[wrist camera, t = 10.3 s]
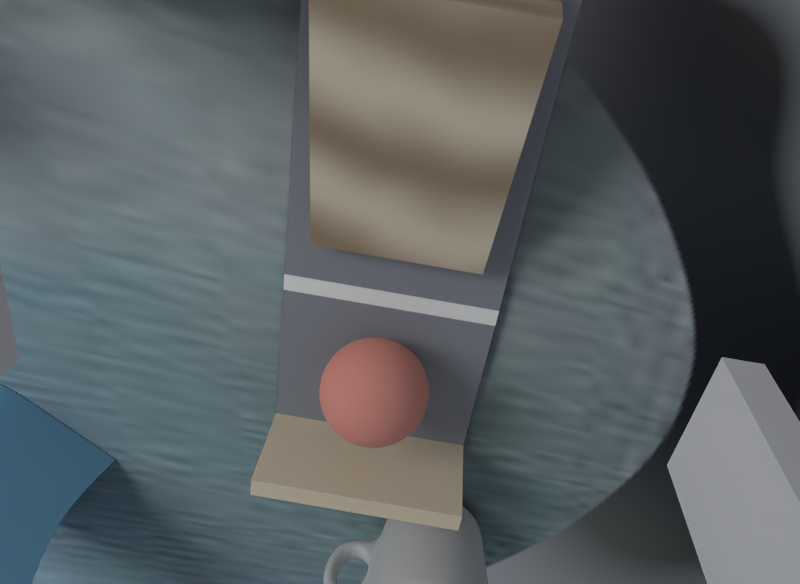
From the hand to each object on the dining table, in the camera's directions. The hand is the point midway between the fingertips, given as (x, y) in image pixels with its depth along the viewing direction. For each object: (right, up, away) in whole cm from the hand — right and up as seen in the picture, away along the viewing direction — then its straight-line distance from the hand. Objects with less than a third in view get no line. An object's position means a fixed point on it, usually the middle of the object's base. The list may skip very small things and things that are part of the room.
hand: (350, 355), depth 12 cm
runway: (+1, +4, +23) cm, 23 cm away
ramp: (+2, +9, +20) cm, 22 cm away
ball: (0, -2, +26) cm, 26 cm away
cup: (+2, -15, +35) cm, 38 cm away
